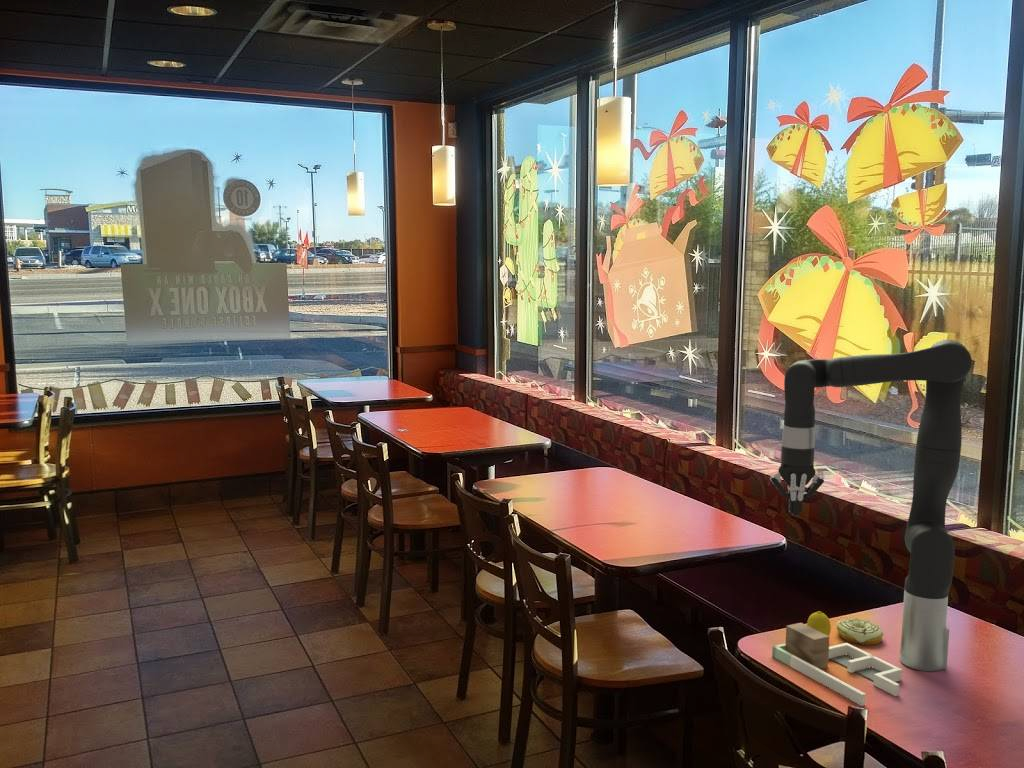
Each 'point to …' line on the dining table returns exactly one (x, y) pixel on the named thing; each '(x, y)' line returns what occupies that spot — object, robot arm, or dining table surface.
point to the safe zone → (781, 653)
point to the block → (807, 644)
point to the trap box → (880, 674)
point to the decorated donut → (859, 631)
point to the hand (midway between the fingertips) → (794, 514)
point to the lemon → (819, 622)
